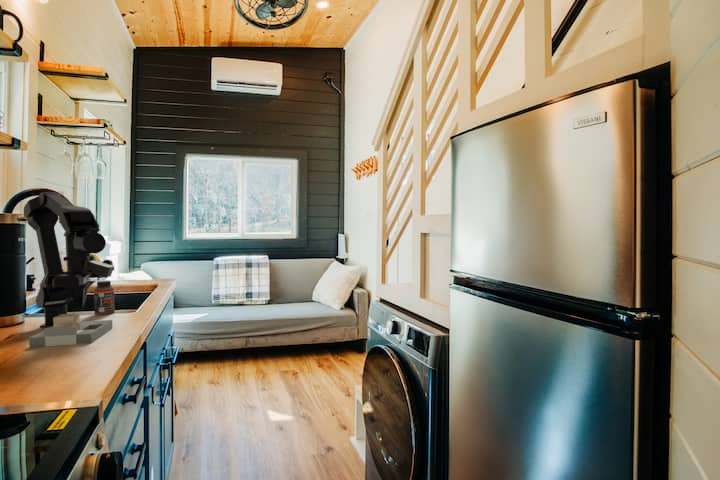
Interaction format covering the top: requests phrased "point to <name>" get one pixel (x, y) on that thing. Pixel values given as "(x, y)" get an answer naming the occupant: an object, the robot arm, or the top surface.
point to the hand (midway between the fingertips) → (81, 307)
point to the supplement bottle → (104, 298)
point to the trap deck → (71, 334)
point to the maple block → (67, 320)
